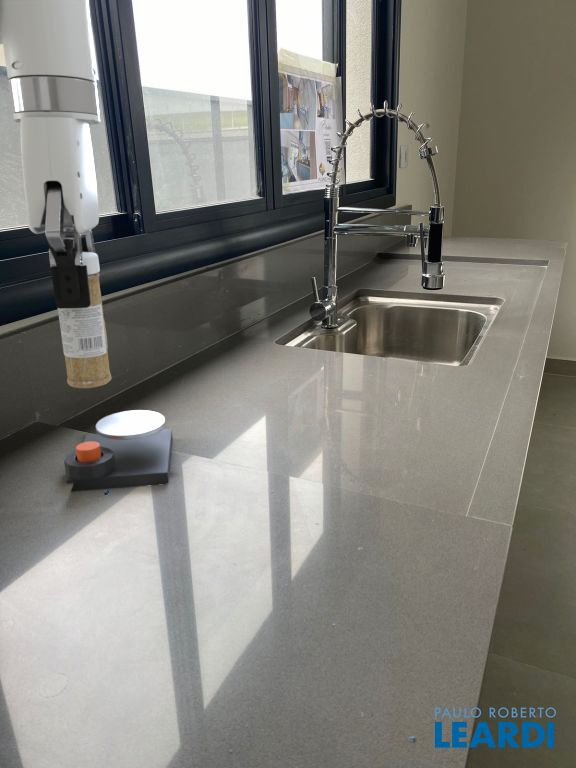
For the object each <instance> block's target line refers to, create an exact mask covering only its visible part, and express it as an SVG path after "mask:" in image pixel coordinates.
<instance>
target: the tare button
mask: <svg viewBox="0 0 576 768" xmlns="http://www.w3.org/2000/svg"><path fill="white" fill-rule="evenodd" d="M75 451H76V452H77V459H78V462H92V461H96V460H98V459H100V458H101V450H100V444H99V443H98V442H95V441H88V442H83V441H82V442H81V443H79V444H77V445H76V447H75Z"/></svg>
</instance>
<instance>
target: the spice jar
mask: <svg viewBox="0 0 576 768" xmlns="http://www.w3.org/2000/svg"><path fill="white" fill-rule="evenodd" d="M82 257H83V265H87V272H88V281H89V290H90V299H91V305H90V306H89V307H88V308H64V309H59V308H57V312H58V321H59V327H60V328H59V329H60V337H61V342H62V351H63V355H64V361H65V367H66V368H65V369H66V375H67V378H66V379H67V380H66V384H67V385H68V386H70V387H72V388H77V389H92V388H93V389H94V388H98V387H101V386H104V385H106V384H108V383H109V382H110V381H111V380H112V374H111V370H110V362H109V353H108V338H107V330H106V322H105V318H104V309H103V300H102V293H101V288H100V287H101V284H100V276H101V275H100V273H99V272H100V271H101V269H100V261H99V255H98V253H96V252H95V253H92V252H82ZM49 264H50V263H49ZM50 266H51V264H50ZM99 284H100V285H99Z"/></svg>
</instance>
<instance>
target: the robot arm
mask: <svg viewBox="0 0 576 768" xmlns="http://www.w3.org/2000/svg"><path fill="white" fill-rule="evenodd" d="M89 4H90V3H89V0H0V45H2V46H3V52H4V53H3V54H4V60H5V67H6V74H7V80H8V81H7V82H8V88H9V96H10V101H11V102H10V103H11V110H12V114H13V115H12V116H13V122H16V123H19V124H20V125H19V128H20V129H19V130H20V133H19V135H20V136H19V137H20V156H21V170H22V179H23V180H22V183H23V190H24V191H23V192H24V199H25V200H24V201H25V211H26V213H25V214H26V221H27V227H28V229H29V230H30V232H32V233H34V234H35V235H42V234H45V237H46V240H47V243H48V244H47V247H48V254H49V264H51V265H50V271H51V280H52V287H53V294H54V296H53V297H54V302H55V307H56V308H57V309H58V308H59V309H64V308H88V307H89V306H90V305H91V299H90V290H89V281H88V272H87V265H83V257H82V252H92V253H96V248H95V247H96V246H95V242H94V235H93V234H94V233H93V229H94V228H96V226H98V225H99V221H100V215H99V214H100V212H99V211H100V210H99V198H98V197H99V196H98V187H97V176H96V170H95V169H96V168H95V161H94V152H93V145H92V138H91V131H90V125H91V126H92V125H99V124H101V117H100V107H99V95H98V87H97V86H98V85H97V75H96V67H95V58H94V57H95V56H94V46H93V36H92V35H93V33H92V24H91V15H90V5H89ZM99 285H100V286H101V284H100V283H99Z"/></svg>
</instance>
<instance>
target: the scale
mask: <svg viewBox="0 0 576 768" xmlns="http://www.w3.org/2000/svg"><path fill="white" fill-rule="evenodd" d="M173 437H174V436H173V429H172V428H168V429H161V430H160V431H158V432H156V433H154V434H152V435H149V436H145V437H141V438H136V439H127V440H116V439H109V438H105V437H102V436H100V435H99V434H98V433H92V434H90V433H89V434H86V435H85V437H84V439H83V441H82V443H83V442H88V441H95V442H98V443H99V444H100V450H101V458H100V459H98V460H96V461H92V462H78V459H77V452H76V450H73V451H72V452H70V453H69V454H67V455H66V456H65V458H64V461H63V462H64V463H63V464H64V468H65V475H67V478H66V484H73V485H72V487H71V489H70V492H87V491H96V490H97V491H98V490H113V489H125V488H134V487H135V488H136V487H148V485H151V486H160V485H159V484H164V485H167V484H166V483H170V474H169V472H171V464H170V461H172V453H171V451H173V443H174V442H173V440H174V439H173Z"/></svg>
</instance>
